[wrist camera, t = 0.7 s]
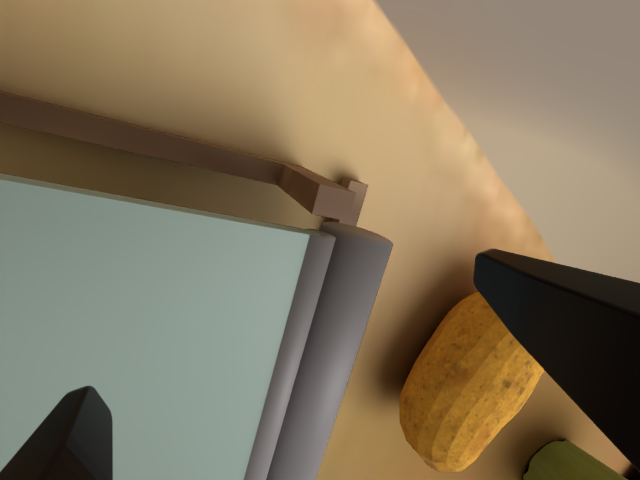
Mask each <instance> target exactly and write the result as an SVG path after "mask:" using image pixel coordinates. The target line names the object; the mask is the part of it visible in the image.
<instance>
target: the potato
mask: <svg viewBox="0 0 640 480" xmlns="http://www.w3.org/2000/svg"><path fill="white" fill-rule="evenodd" d="M543 372H544V369H543V368H542V367H541V366H540V365H539V364H538V363H537V361H536V360H535V359H534V358H533V357H532V356H531V355H530V354H529V353H528V352H527V351H526V350H525V349H524V348H523V346H522V345H521V344H520V343H519V342H518V341H517V340H516V339H515V338H514V336H513V335H512V334H511V333H510V332H509V330H508V329H507V328H506V327H505V325H504V324H503V323H502V321H501V320H500V319H499V317H498V316H497V315H496V313H495V312H494V311H493V310H492V308H491V307H490V306H489V304H488V303H487V302H486V300H485V299H484V298H483V297H482V295H481V294H480V293H479V292H476V293H474V294H472V295H470V296H468V297H466V298H464V299H463V300H461V301H460V302H459V303H458V304H456V305H455V306H454V307H453V308H452V309H451V310H450V311H449V312H448V313H447V315H446V316H445V318H444V319H443V320H442V322H441V323H440V325H439V326H438V327H437V329H436V330H435V332H434V333H433V335H432V336H431V338H430V339H429V341H428V342H427V344H426V346H425V347H424V349H423V350H422V352H421V353H420V355H419V357H418V358H417V360H416V361H415V363H414V365H413V368H412V370H411V372H410V374H409V376H408V378H407V380H406V382H405V384H404V387H403V389H402V391H401V396H400V424H401V427H402V429H403V432H404V435H405V438H406V441H407V442H408V443H409V444H410V445H411V446H412V447H413V449H414V450H415V451H416V452H417V453H418V454H419V456H420V457H421V458H422V459H423V460H424V462H425V463H426V464H427V465H428V466H430V467H432V468H433V469H435V470H437V471H439V472H455V471H462V470H464V469H465V468H467V467H468V466H469V465H470V464H471V463H472V462H474V461H475V460H476V459H477V457H478V456H479V455H480V454H481V453H482V451H483V450H484V449H485V448H486V446H487V445H488V444H489V443H490V442H491V440H492V439H493V438H494V437H495V436H496V435H497V433H498V432H499V431H500V430H501V429H502V428H503V427H504V426H505V425H506V424H507V423H508V422H509V421H510V420H511V419H512V418H513V417H514V416H515V415H516V414H517V413H518V412H519V411H520V409H521V408H522V406H523V405H524V404H525V402H526V401H527V399H528V398H529V396H530V395H531V393H532V392H533V390H534V388H535V386H536V384H537V382H538V380H539V378H540V376H541V374H542V373H543Z"/></svg>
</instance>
